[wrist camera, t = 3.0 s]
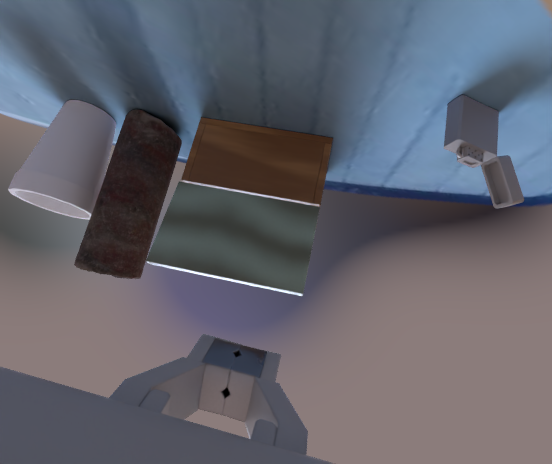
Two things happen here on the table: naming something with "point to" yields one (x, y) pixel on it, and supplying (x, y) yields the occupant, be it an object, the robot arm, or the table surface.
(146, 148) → the dark brown rough cylinder
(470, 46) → the table surface
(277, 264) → the pale green flat panel
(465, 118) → the lighter
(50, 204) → the foam cup
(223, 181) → the box
